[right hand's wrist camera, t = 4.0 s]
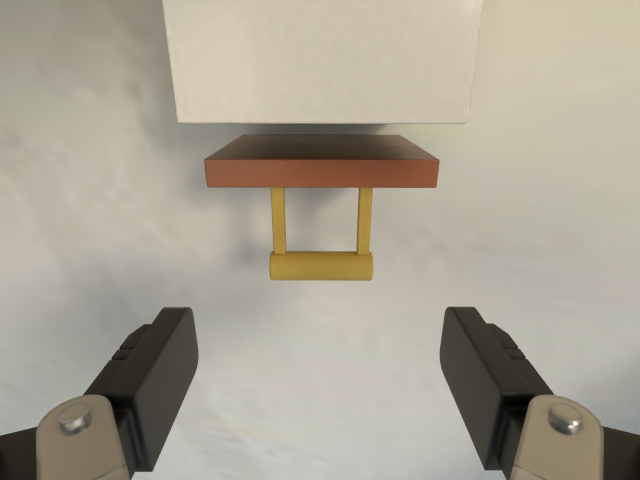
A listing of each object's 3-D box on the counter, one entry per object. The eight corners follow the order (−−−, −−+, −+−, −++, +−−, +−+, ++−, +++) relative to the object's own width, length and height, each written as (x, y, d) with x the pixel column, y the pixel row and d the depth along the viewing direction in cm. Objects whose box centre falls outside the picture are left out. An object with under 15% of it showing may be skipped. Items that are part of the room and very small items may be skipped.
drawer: (392, 236, 27) (423, 301, 19) (249, 235, 27) (219, 300, 19) (426, -209, 18) (509, -442, 10) (218, -210, 18) (138, -443, 10)
